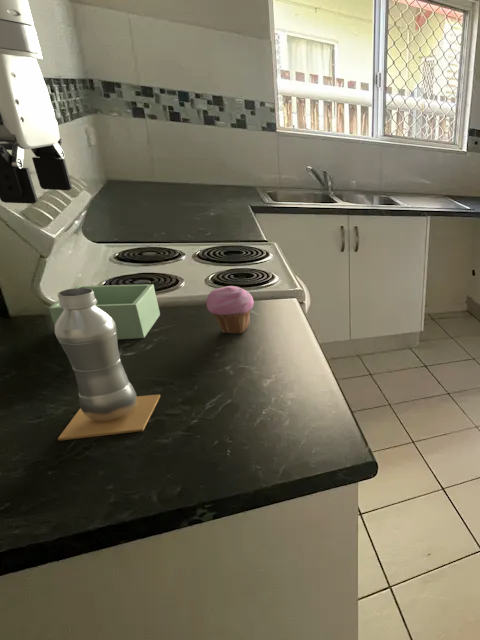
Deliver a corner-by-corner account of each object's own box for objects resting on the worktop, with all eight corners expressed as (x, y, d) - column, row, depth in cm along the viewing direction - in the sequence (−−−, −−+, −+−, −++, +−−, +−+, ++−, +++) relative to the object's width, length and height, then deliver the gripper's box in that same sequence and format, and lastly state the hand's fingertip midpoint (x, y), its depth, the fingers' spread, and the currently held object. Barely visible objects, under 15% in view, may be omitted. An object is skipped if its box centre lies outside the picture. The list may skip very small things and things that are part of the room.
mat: (58, 440, 67) (57, 438, 67) (86, 403, 75) (85, 401, 75) (143, 431, 71) (142, 428, 70) (160, 396, 79) (160, 394, 79)
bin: (60, 342, 92) (48, 307, 89) (85, 317, 102) (75, 286, 99) (144, 337, 97) (136, 304, 94) (160, 314, 107) (153, 284, 104)
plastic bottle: (139, 419, 72) (106, 296, 64) (82, 431, 69) (38, 303, 60) (140, 399, 77) (108, 282, 69) (86, 409, 73) (46, 287, 65)
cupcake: (250, 338, 101) (244, 294, 97) (205, 339, 99) (196, 293, 95) (261, 322, 109) (256, 280, 104) (219, 322, 107) (212, 280, 103)
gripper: (-8, 41, 59) (34, 183, 66) (-111, 22, 45) (-43, 207, 52) (68, 51, 62) (101, 186, 69) (-6, 36, 47) (45, 210, 54)
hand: (39, 195), depth 60 cm, fingers open, 9 cm apart
